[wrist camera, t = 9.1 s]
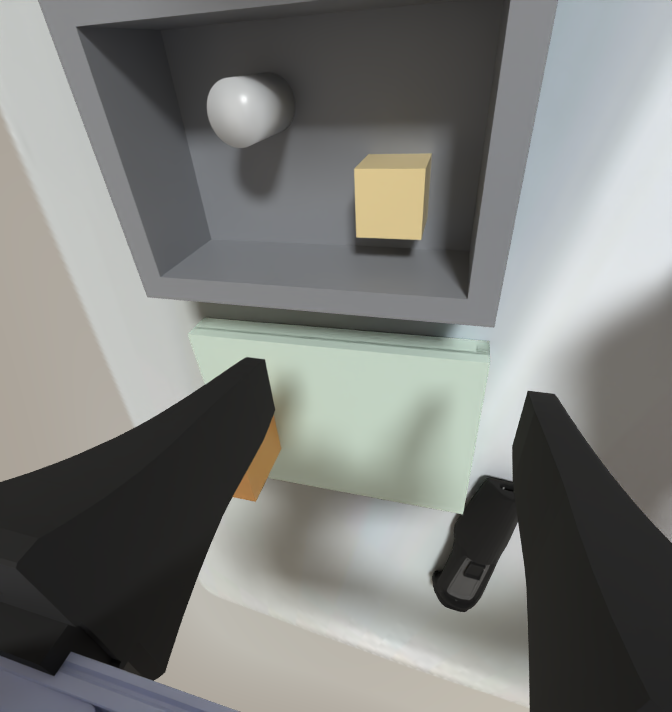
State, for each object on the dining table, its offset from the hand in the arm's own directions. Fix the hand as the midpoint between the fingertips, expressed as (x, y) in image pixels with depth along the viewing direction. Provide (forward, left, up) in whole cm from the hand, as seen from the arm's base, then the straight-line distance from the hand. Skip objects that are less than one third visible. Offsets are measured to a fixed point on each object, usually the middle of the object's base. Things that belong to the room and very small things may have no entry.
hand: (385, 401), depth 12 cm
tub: (+4, -5, -9) cm, 11 cm away
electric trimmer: (-5, +21, -10) cm, 23 cm away
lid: (+4, +10, -9) cm, 14 cm away
